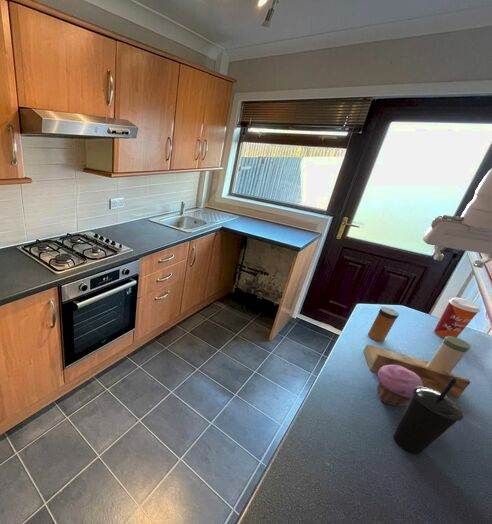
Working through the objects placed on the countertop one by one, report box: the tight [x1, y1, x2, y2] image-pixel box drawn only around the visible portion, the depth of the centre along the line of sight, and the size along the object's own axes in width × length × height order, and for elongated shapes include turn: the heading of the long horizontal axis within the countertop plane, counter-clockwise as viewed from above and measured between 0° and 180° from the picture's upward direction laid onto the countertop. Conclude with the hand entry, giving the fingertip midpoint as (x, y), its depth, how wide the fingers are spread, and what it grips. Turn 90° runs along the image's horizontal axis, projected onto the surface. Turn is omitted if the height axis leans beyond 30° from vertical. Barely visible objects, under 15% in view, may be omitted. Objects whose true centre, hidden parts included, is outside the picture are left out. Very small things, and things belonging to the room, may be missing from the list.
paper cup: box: [433, 296, 481, 339], centre depth 98 cm, size 8×8×14 cm
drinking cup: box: [392, 378, 465, 455], centre depth 59 cm, size 8×8×20 cm
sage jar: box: [426, 336, 471, 374], centre depth 78 cm, size 5×5×11 cm
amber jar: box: [367, 306, 400, 343], centre depth 95 cm, size 5×5×11 cm
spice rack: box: [362, 344, 471, 399], centre depth 82 cm, size 20×9×6 cm, turn 65°
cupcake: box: [376, 365, 424, 407], centre depth 72 cm, size 9×9×10 cm
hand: (456, 263), depth 86 cm, fingers open, 8 cm apart
